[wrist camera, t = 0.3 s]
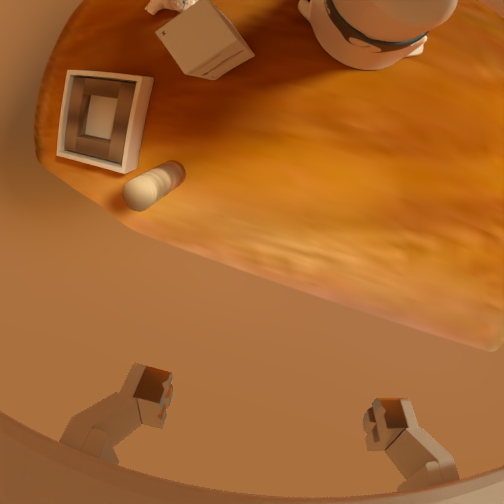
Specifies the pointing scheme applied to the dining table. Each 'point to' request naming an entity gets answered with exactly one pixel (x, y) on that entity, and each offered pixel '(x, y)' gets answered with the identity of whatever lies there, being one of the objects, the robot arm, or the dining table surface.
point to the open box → (108, 119)
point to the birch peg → (153, 185)
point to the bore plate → (79, 114)
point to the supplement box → (204, 41)
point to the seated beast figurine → (168, 5)
